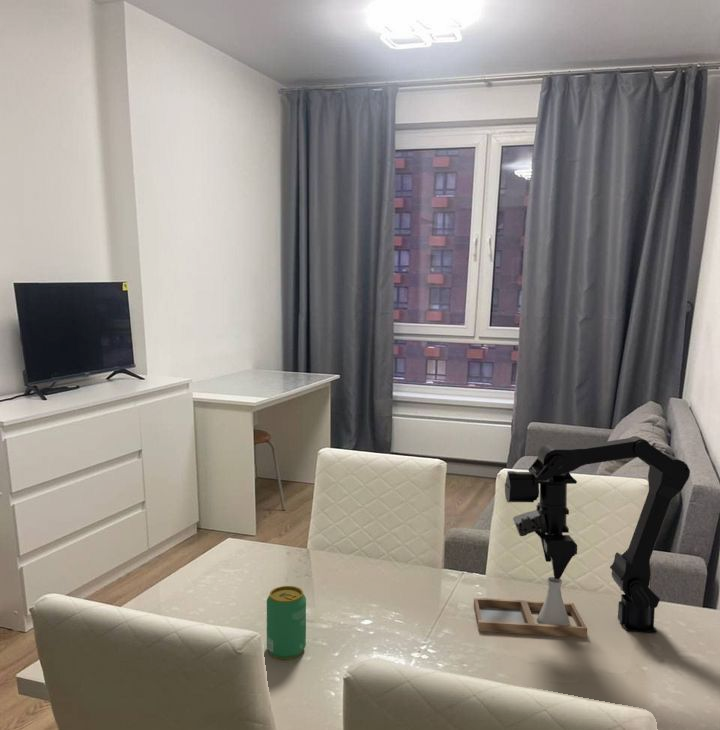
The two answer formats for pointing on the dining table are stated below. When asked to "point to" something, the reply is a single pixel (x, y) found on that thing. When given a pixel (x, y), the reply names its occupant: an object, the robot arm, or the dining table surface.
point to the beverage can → (286, 622)
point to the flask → (553, 605)
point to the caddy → (522, 618)
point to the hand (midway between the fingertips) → (552, 569)
